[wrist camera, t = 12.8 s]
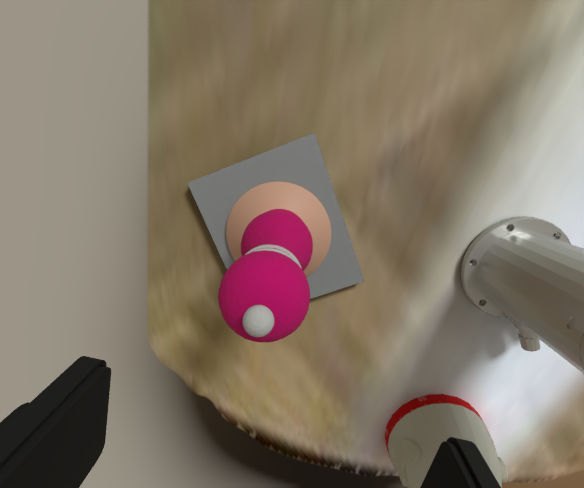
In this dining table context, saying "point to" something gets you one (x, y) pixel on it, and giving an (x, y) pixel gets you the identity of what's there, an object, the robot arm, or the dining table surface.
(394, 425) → the kitchen timer
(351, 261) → the slate board
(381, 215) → the dining table surface
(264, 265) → the pepper mill
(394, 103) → the dining table surface
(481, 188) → the dining table surface
